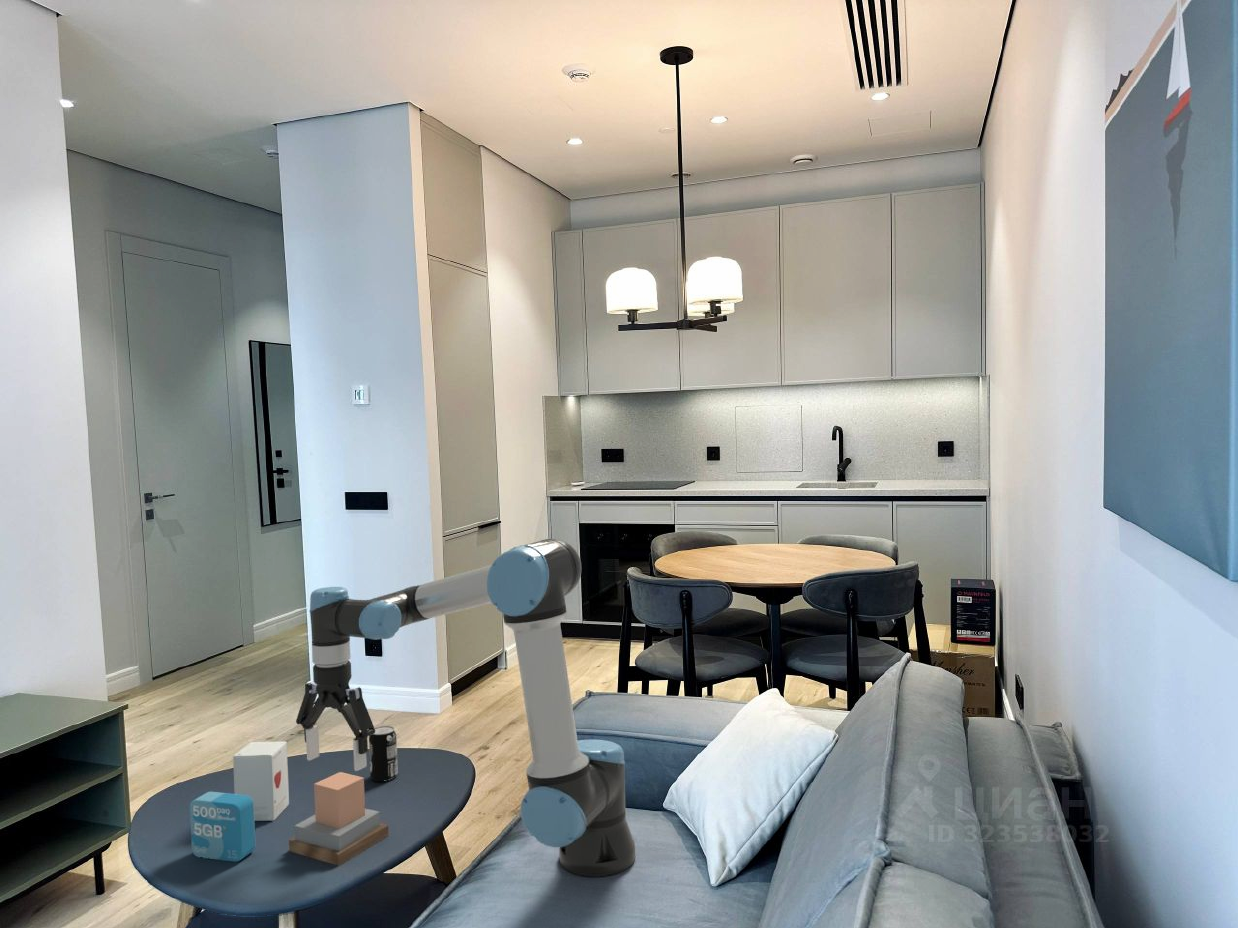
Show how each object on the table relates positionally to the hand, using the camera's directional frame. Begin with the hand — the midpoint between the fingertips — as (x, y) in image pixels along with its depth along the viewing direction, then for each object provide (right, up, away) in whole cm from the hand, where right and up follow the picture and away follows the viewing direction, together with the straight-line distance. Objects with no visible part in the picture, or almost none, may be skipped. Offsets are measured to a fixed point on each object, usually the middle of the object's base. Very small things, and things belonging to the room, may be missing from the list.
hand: (336, 763), depth 182 cm
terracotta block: (+1, -12, +1) cm, 12 cm away
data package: (-22, -18, -3) cm, 29 cm away
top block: (0, -15, +1) cm, 15 cm away
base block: (0, -18, +1) cm, 18 cm away
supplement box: (-22, -17, +16) cm, 32 cm away
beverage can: (+1, -16, +35) cm, 38 cm away
